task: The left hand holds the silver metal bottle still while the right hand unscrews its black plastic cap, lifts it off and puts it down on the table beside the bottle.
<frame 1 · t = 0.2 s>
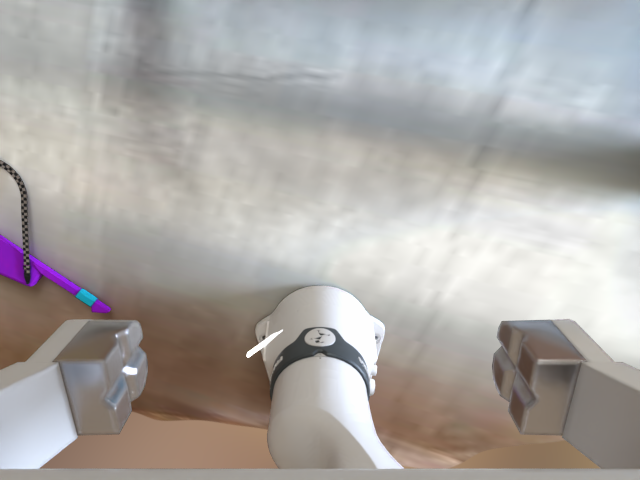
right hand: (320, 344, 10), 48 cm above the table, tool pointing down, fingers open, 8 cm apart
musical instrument: (22, 232, 61), on the table
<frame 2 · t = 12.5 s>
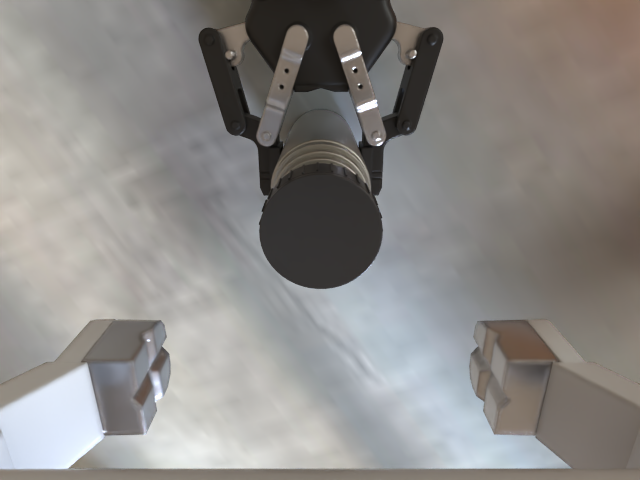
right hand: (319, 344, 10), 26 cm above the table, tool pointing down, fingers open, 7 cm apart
left hand: (321, 199, 30), fingers closed on bottle, 5 cm apart
bottle: (320, 142, 35), on the table, touching left hand
cap: (320, 231, 17), point 19 cm above the table, screwed on, not yet turned
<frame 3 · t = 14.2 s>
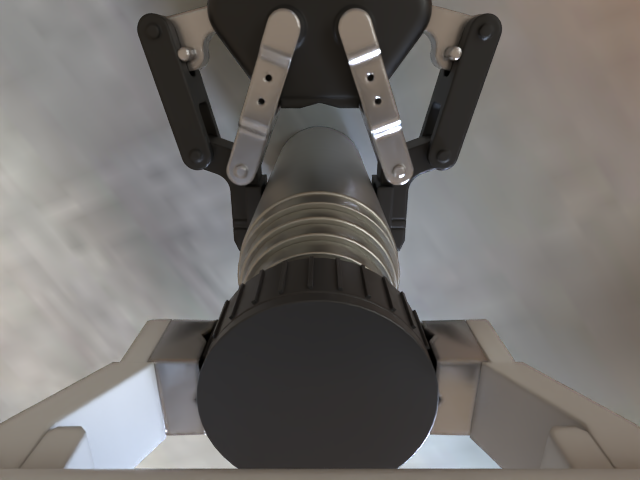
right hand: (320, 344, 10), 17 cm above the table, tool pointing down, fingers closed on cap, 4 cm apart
left hand: (320, 255, 21), fingers closed on bottle, 5 cm apart
bottle: (319, 169, 26), on the table, touching left hand
cap: (317, 395, 9), point 19 cm above the table, screwed on, not yet turned, touching right hand
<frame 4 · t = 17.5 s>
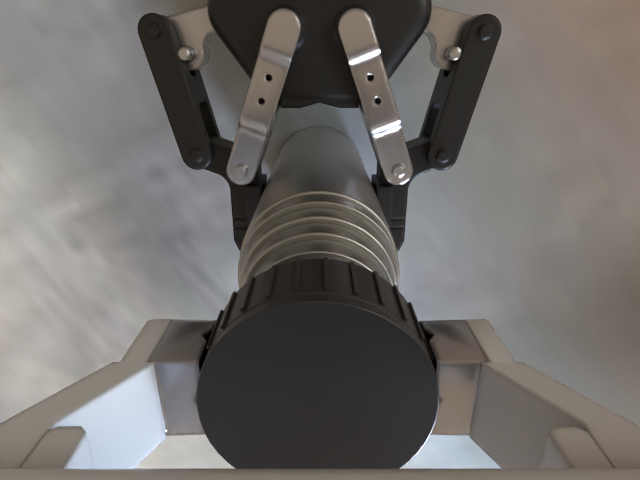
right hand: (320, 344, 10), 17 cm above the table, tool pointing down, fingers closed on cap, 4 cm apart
left hand: (319, 254, 21), fingers closed on bottle, 5 cm apart
bottle: (319, 169, 26), on the table, touching left hand
cap: (317, 396, 9), point 19 cm above the table, turned 86° so far, risen 0.1 cm, still on its thread, touching right hand
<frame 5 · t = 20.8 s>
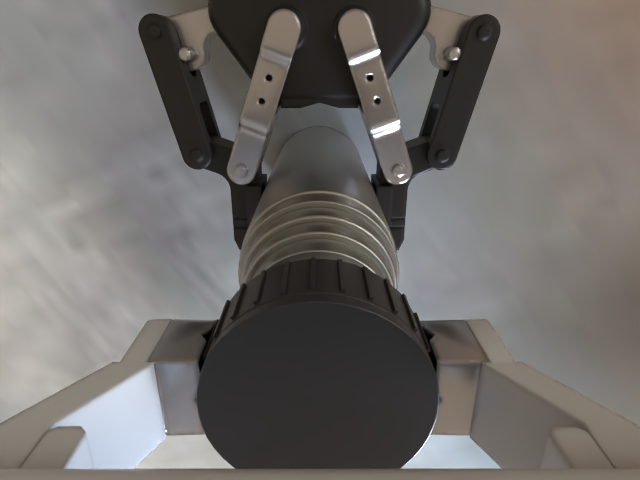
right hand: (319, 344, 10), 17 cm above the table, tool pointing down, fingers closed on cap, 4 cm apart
left hand: (319, 253, 22), fingers closed on bottle, 5 cm apart
bottle: (319, 169, 27), on the table, touching left hand
cap: (318, 396, 9), point 19 cm above the table, turned 172° so far, risen 0.2 cm, still on its thread, touching right hand
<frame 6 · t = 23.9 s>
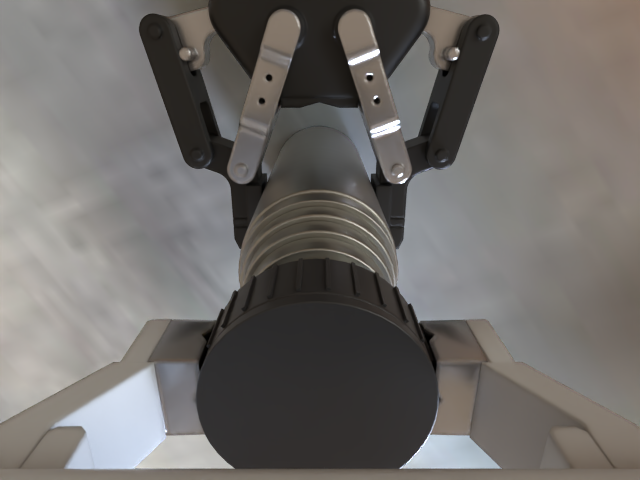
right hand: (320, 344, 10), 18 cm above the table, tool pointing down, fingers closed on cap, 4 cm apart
left hand: (319, 253, 22), fingers closed on bottle, 5 cm apart
bottle: (319, 169, 27), on the table, touching left hand
cap: (317, 396, 9), point 19 cm above the table, turned 259° so far, risen 0.2 cm, still on its thread, touching right hand
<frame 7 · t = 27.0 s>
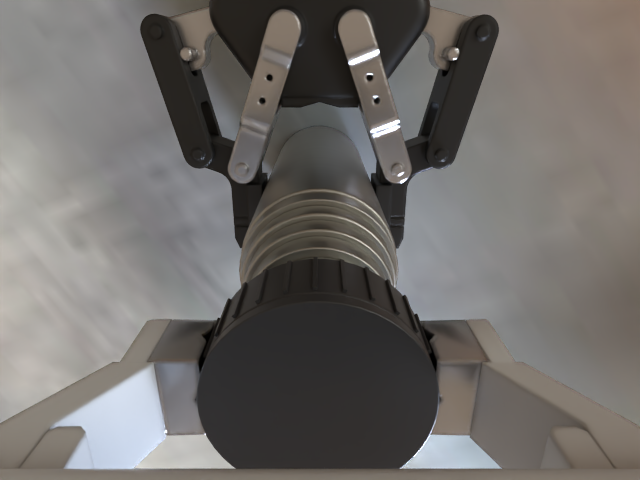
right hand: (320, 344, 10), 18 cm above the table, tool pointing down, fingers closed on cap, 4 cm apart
left hand: (319, 252, 22), fingers closed on bottle, 5 cm apart
bottle: (319, 168, 27), on the table, touching left hand
cap: (318, 396, 9), point 19 cm above the table, turned 345° so far, risen 0.3 cm, still on its thread, touching right hand
when the right hand's fingers open (2 cm above the table, at t = 37.5 s): cap drops 2 cm, point 2 cm above the table.
when the left hand's fingers open (6 cm above the table, at t = 38.6 s): bottle stays where it is, on the table.
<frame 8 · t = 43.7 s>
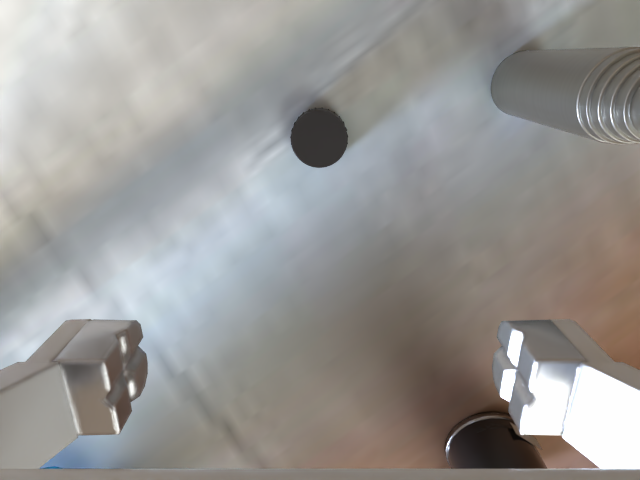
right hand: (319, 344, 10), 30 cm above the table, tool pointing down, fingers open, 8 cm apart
bottle: (521, 83, 37), on the table
cap: (319, 139, 37), point 2 cm above the table, off its thread
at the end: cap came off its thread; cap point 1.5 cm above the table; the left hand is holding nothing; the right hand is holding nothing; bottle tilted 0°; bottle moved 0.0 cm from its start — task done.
